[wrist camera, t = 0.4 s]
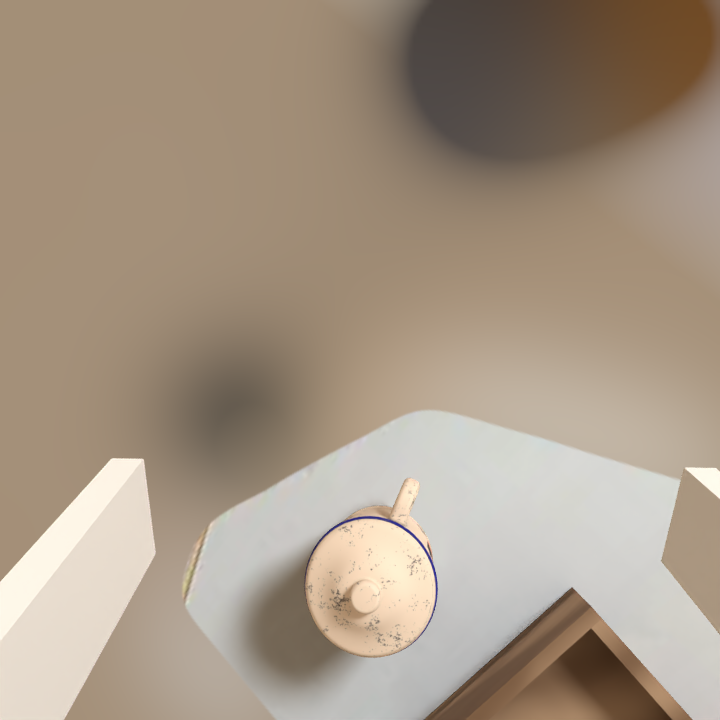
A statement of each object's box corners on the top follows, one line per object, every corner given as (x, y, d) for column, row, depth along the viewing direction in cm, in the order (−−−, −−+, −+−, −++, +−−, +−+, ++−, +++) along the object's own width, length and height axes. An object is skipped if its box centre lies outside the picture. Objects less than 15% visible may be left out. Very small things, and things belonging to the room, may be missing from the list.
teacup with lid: (410, 635, 43) (403, 706, 31) (310, 585, 44) (269, 634, 33) (465, 498, 44) (479, 518, 32) (367, 453, 45) (346, 457, 34)
